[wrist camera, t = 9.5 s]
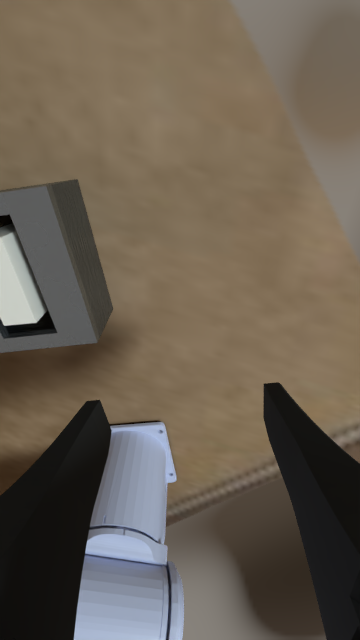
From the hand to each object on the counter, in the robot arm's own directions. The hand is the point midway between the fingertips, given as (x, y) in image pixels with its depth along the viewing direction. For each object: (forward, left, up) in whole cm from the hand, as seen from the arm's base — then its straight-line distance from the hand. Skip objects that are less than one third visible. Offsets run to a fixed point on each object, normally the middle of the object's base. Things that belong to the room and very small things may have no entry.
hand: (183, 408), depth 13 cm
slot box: (+5, +9, -10) cm, 15 cm away
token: (+5, +9, -10) cm, 15 cm away
